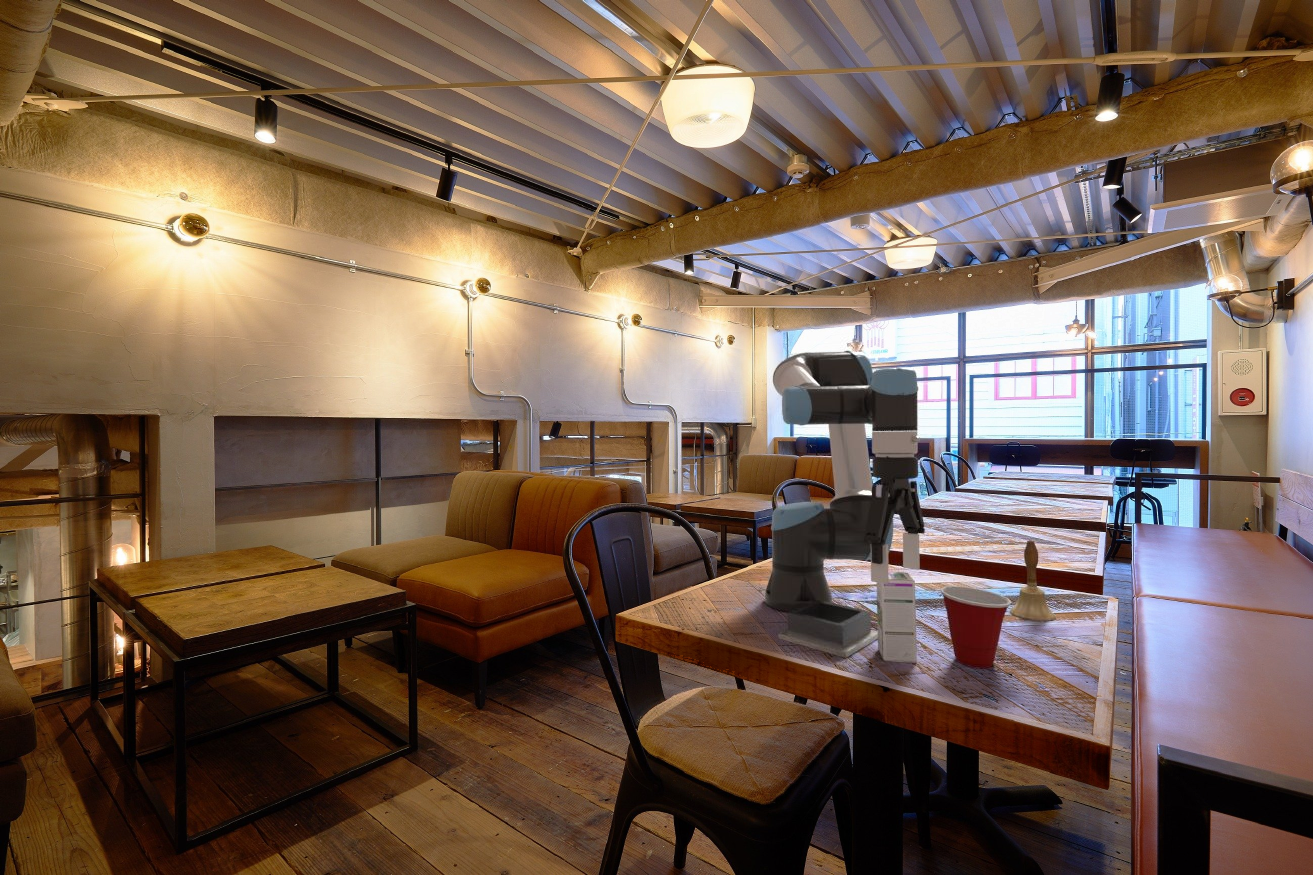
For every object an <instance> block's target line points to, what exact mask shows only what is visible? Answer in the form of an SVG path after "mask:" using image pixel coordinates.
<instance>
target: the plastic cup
mask: <svg viewBox="0 0 1313 875" xmlns="http://www.w3.org/2000/svg"><path fill="white" fill-rule="evenodd" d="M940 593H941V596H942V597H943V602H944V606H945V610H946V617H947V622H948V629H949V633H950V634H949V635H950V640H951V642H952V643H951V644H952V648H953V654H954V658H955V660H956V661H957V662H958V663H959V664H961V665H964V666H965V667H966V666H967V667H971V668H978V669H987V668H991V667H992V666H993V665H994V662H995V659H996V652H997V647H998V646H999V642H1000V636H1001V631H1002V627H1003V623H1004V622H1003V620H1004V618H1005V616H1006V612H1007V610H1008V608H1009V607H1010V606H1011V604H1012V601H1011V600H1010V599H1009V598H1008V597H1006V596H1005V595H1001V594H999V593H995V592H993V591H988V590H984V589H979V588H974V587H967V586H959V585H958V586H954V585H949V586H943V587H941V588H940Z"/></svg>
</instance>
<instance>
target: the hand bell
mask: <svg viewBox="0 0 1313 875" xmlns="http://www.w3.org/2000/svg"><path fill="white" fill-rule="evenodd" d="M1023 559H1024V564H1025V566H1026V571H1027V573H1026V574H1027V576H1026V578H1027V579H1026V581H1027V583H1026V584H1027V585H1026V586H1023V587H1021V588H1020V590H1019V593H1018V594H1019V595H1018V598H1017V601H1016V604H1014V606H1012V607H1011V608H1010V610H1009V613H1010V614H1011V615H1013V616H1014V617H1016V618H1017V617H1018V618H1020V619H1024V620H1029V621H1030V620H1031V621H1036V622H1050V621H1054V620H1055V619H1056V614H1055V613H1054V612H1053V611H1052V610H1051V609H1050V608H1049V605H1048V603H1047V599H1046V593H1045V591H1044V590H1043V589H1041V588H1039V587H1038V585H1037V584H1038V582H1037V568H1038V565H1039V552H1038V549H1037V546H1036V543H1035V540H1027V542H1026V545H1025V548H1024V552H1023Z"/></svg>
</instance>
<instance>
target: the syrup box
mask: <svg viewBox="0 0 1313 875" xmlns="http://www.w3.org/2000/svg"><path fill="white" fill-rule="evenodd" d="M888 573H889V583H888V584H884V583H878V582H876V610H877V611H876V612H877V613H876V618H877V620H876V621H877V622H876V623H877V631H878V639H877V649H878V651H879V654H880V656H881V658H882V660H883V661H887V662H893V663H894V662H897V663H913V664H917V662H918V661H917V660H918V659H917V658H918V657H917V655H918V654H917V651H918V650H917V646H918V645H917V644H918V643H917V641H918V640H917V614H916V612H917V610H916V582H915V579H914V578H913V577H912V576H911V575H910V574H909V573H908V572H903V571H888Z"/></svg>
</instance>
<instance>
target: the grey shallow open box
mask: <svg viewBox="0 0 1313 875" xmlns="http://www.w3.org/2000/svg"><path fill="white" fill-rule="evenodd" d="M871 615H872V613H871V611H869V610H864V609H861V608H855V607H852V606H851V607H850V606H846V605H842V604H837V603H833V602H832V603H829V602H825V601H820V600H816V601H814V602H812V603H809V604H807V605H805V606H802V607H800V608H798V609H796V610H793V611H791V612H787V629H785V630H783V631H781V632H779V633H778V639H780V640H782V641H786V642H789V643H793V644H795V645H796V644H797V645H799V646H800V645H801V646H803V647H805V648H811V649H813V650H817V651H821V652H823V653H828V654H830V655H835V656H838V657H842V658H844V659H845V658H846V659H847V658H849V657H850V656H852V655H854V654H855V653H856V652H859V651H860V650H862V649H863V648H865V647H867V646H868V645H870V644H871V643H873V642H875V641H877V640H878V630H874V629H871V628H872V622H871V621H872V620H871V619H872V616H871Z"/></svg>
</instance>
